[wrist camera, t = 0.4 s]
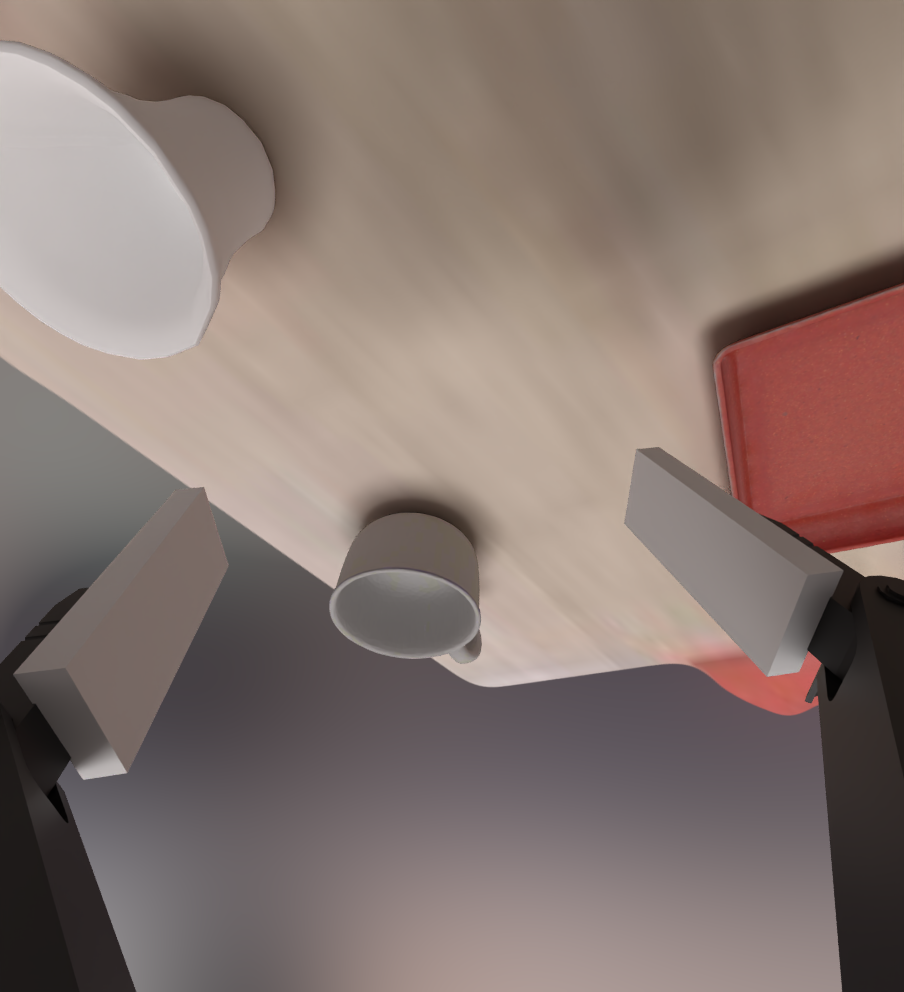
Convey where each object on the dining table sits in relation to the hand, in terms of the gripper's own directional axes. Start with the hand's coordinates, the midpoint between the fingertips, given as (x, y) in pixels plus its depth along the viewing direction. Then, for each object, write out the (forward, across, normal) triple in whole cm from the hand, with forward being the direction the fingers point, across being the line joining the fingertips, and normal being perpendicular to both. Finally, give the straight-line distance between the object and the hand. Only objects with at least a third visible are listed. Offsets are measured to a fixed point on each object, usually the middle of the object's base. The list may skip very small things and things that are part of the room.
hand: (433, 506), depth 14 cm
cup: (+15, -8, +11) cm, 20 cm away
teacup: (+20, +1, -15) cm, 25 cm away
